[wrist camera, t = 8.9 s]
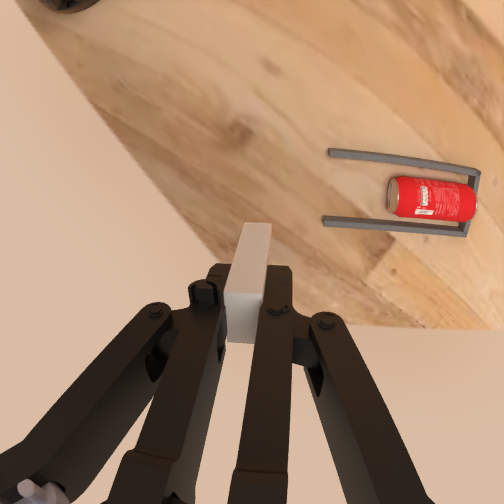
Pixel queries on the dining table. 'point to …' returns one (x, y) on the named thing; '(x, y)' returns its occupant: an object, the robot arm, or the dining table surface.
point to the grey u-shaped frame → (399, 225)
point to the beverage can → (431, 199)
